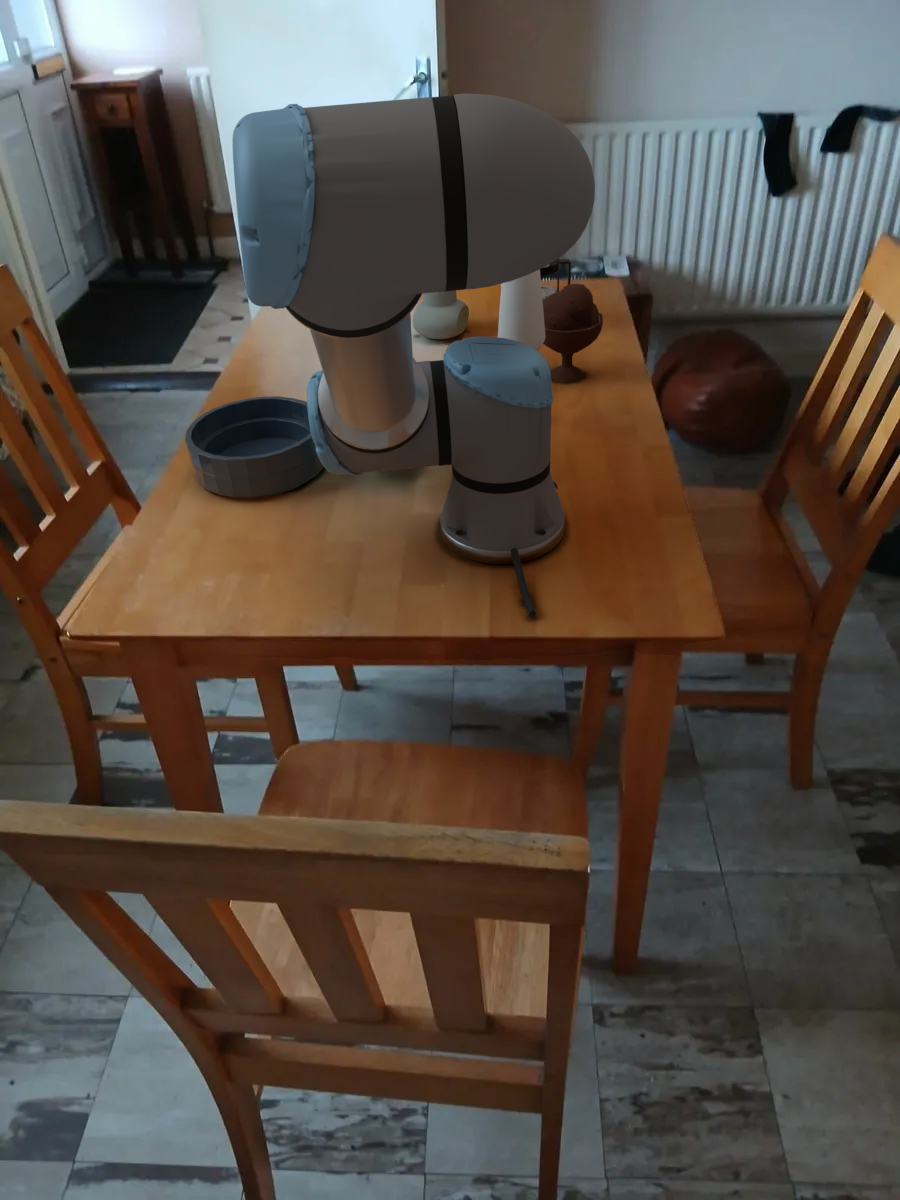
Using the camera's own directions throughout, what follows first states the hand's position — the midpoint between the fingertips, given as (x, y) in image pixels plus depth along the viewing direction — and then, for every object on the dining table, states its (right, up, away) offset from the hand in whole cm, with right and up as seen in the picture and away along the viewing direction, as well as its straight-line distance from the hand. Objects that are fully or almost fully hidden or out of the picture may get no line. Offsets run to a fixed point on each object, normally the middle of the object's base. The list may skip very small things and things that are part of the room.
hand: (388, 448), depth 122 cm
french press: (+24, +29, +41) cm, 55 cm away
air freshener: (+7, +27, +41) cm, 50 cm away
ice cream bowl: (+27, +16, +24) cm, 40 cm away
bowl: (-18, -2, +5) cm, 19 cm away
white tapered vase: (+19, +6, +12) cm, 23 cm away
